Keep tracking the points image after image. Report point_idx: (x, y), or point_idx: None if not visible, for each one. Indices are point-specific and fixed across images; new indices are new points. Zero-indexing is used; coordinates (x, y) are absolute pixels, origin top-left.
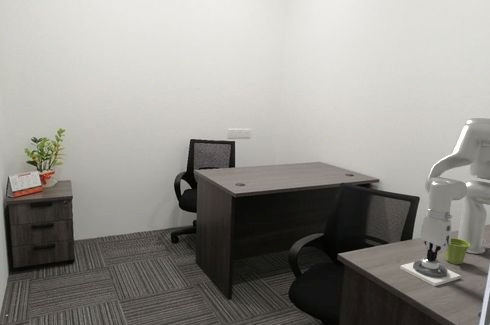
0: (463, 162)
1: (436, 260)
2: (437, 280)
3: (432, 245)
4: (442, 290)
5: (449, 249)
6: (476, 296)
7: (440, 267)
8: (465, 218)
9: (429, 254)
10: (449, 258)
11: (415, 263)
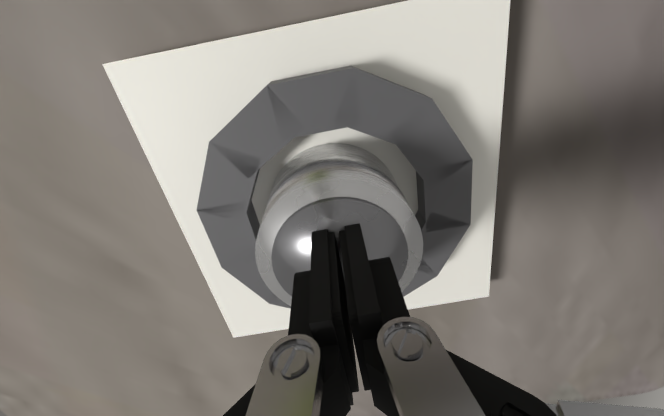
0: None
1: (365, 214)
2: (473, 261)
3: (310, 412)
4: (529, 272)
5: None
6: None
7: (362, 121)
8: None
9: (353, 348)
10: None
11: (250, 277)
